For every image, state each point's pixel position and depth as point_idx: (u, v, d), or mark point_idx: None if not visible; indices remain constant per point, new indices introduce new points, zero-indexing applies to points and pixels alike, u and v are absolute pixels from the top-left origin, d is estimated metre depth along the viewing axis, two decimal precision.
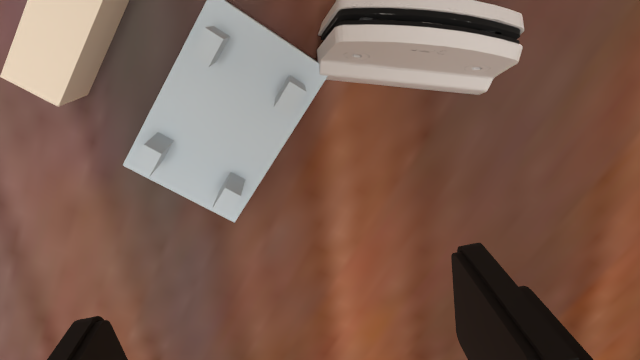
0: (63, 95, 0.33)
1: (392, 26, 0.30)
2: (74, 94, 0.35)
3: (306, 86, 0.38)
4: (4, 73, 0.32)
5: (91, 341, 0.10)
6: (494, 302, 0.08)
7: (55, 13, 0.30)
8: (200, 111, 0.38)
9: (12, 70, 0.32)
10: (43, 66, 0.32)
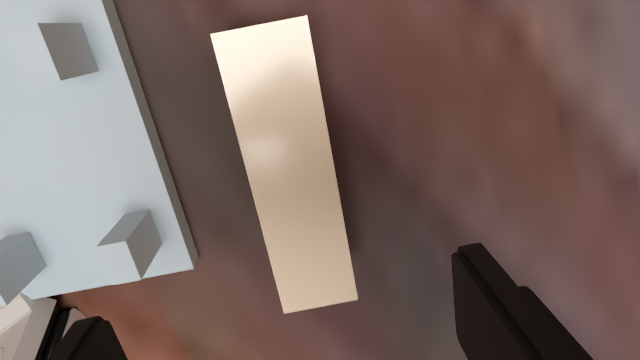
0: (216, 56, 0.19)
1: None
2: None
3: None
4: (304, 25, 0.19)
5: (91, 341, 0.10)
6: (494, 302, 0.08)
7: (294, 159, 0.21)
8: (82, 144, 0.24)
9: (297, 39, 0.19)
10: (265, 79, 0.20)
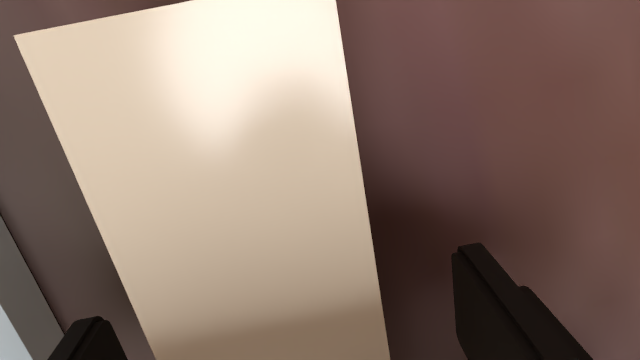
0: (45, 106, 0.06)
1: None
2: None
3: None
4: (322, 7, 0.06)
5: (91, 341, 0.10)
6: (494, 302, 0.08)
7: (291, 357, 0.08)
8: None
9: (299, 53, 0.06)
10: (203, 168, 0.07)
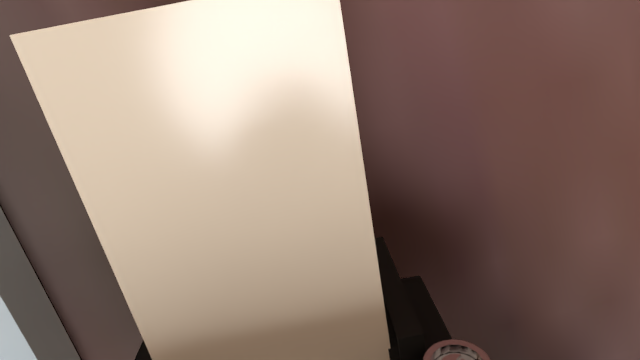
0: (42, 107, 0.06)
1: None
2: None
3: None
4: (326, 7, 0.06)
5: None
6: None
7: None
8: None
9: (302, 53, 0.06)
10: (204, 171, 0.06)
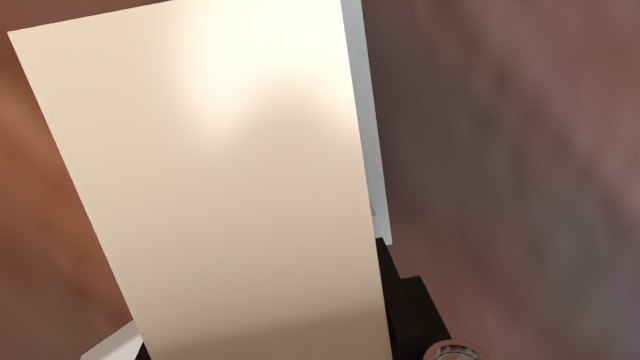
0: (39, 105, 0.06)
1: None
2: None
3: None
4: (325, 4, 0.06)
5: None
6: None
7: None
8: None
9: (301, 51, 0.06)
10: (203, 170, 0.06)
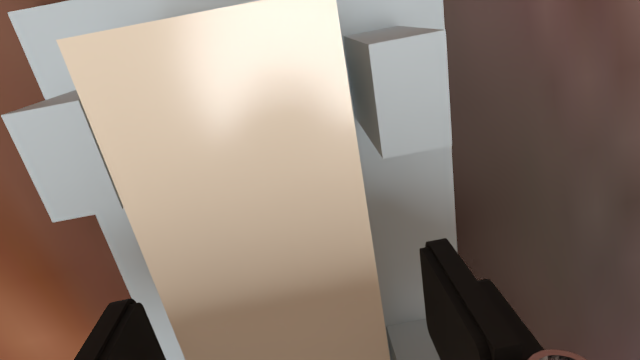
0: (81, 101, 0.07)
1: None
2: None
3: None
4: (325, 15, 0.07)
5: (128, 321, 0.10)
6: (452, 293, 0.09)
7: (296, 330, 0.09)
8: None
9: (305, 55, 0.07)
10: (220, 157, 0.07)
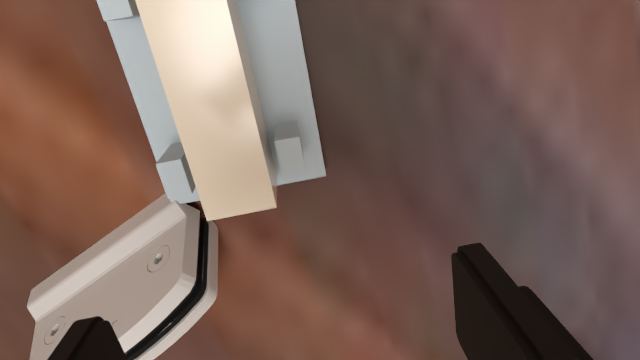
0: None
1: (149, 330, 0.27)
2: None
3: None
4: None
5: (91, 341, 0.10)
6: (494, 302, 0.08)
7: (205, 63, 0.22)
8: None
9: None
10: None
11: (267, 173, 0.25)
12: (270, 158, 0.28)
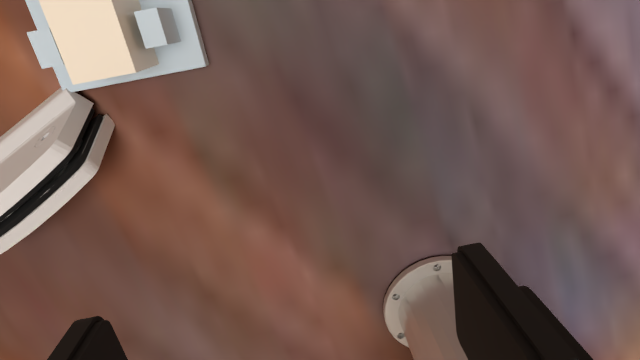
0: None
1: (26, 192, 0.30)
2: None
3: None
4: None
5: (91, 341, 0.10)
6: (494, 302, 0.08)
7: None
8: None
9: None
10: None
11: (123, 37, 0.28)
12: None
